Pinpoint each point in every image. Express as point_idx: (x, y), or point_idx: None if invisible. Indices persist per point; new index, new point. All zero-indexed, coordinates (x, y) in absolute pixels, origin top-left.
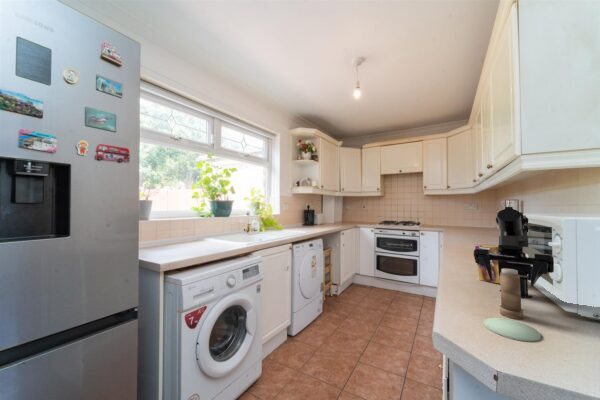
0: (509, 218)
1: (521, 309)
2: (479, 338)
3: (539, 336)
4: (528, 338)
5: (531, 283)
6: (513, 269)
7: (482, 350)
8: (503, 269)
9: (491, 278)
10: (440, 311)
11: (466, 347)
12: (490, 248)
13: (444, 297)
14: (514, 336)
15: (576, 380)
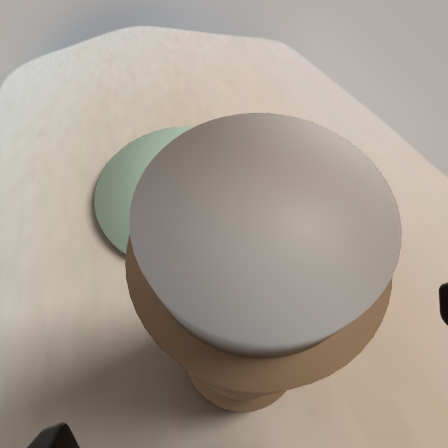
0: None
1: (200, 384)
2: (211, 82)
3: (96, 195)
4: (119, 157)
5: (48, 440)
6: (240, 327)
7: (181, 49)
8: (336, 159)
9: (445, 284)
10: (395, 133)
11: (207, 38)
12: None
13: None
14: (150, 137)
15: (25, 83)
